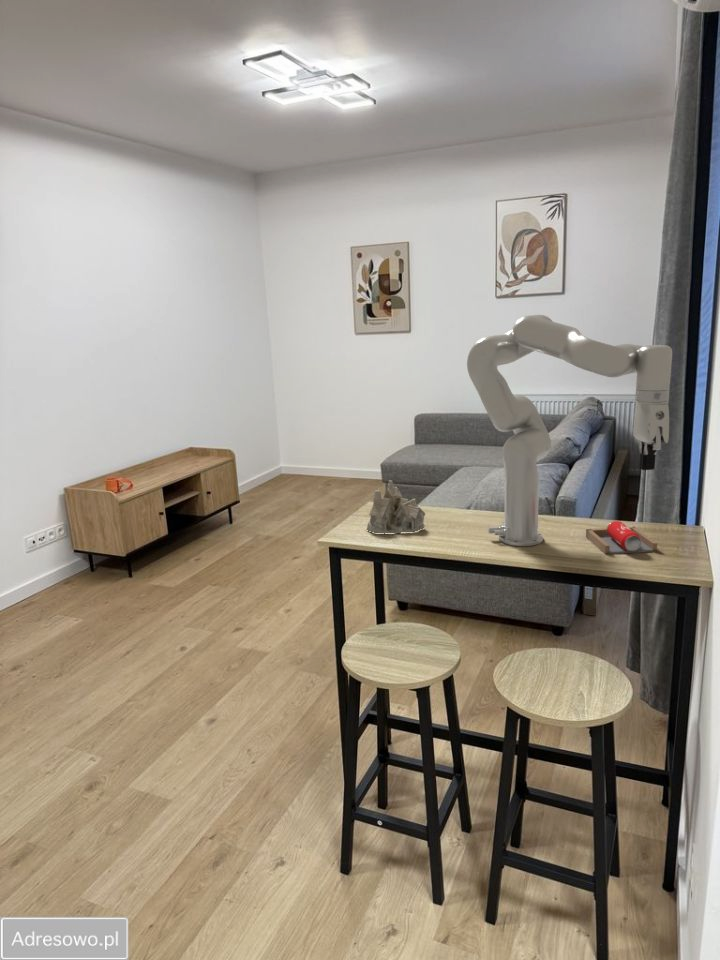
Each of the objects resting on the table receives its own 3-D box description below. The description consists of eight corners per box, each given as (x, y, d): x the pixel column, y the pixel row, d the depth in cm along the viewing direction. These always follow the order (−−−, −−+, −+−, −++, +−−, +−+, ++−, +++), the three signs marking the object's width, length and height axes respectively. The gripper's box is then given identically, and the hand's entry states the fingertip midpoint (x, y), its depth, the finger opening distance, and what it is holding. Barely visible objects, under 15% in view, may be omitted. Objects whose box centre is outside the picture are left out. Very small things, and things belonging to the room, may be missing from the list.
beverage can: (641, 552, 175) (623, 536, 186) (643, 534, 173) (624, 519, 185) (622, 553, 175) (605, 537, 186) (624, 534, 173) (606, 520, 185)
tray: (604, 554, 176) (605, 545, 175) (585, 537, 189) (586, 529, 189) (656, 551, 176) (657, 543, 175) (633, 534, 189) (634, 526, 189)
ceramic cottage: (359, 528, 206) (360, 483, 201) (398, 519, 216) (400, 475, 211) (392, 543, 194) (394, 495, 190) (431, 532, 204) (433, 486, 200)
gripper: (682, 399, 152) (676, 475, 156) (653, 392, 166) (647, 461, 171) (650, 401, 151) (645, 477, 156) (624, 393, 166) (619, 463, 171)
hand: (646, 468), depth 163 cm, fingers closed
